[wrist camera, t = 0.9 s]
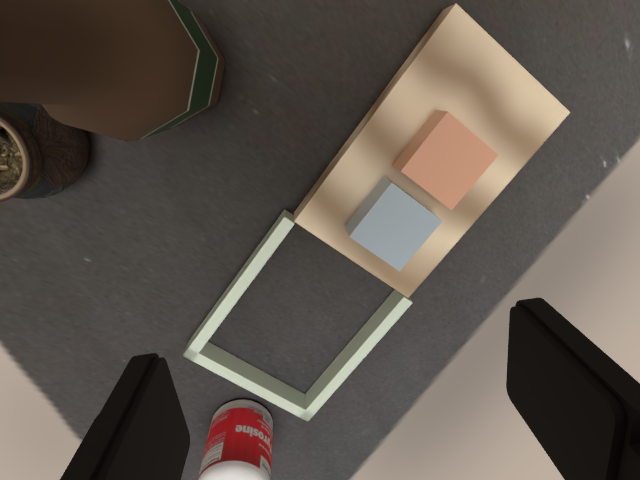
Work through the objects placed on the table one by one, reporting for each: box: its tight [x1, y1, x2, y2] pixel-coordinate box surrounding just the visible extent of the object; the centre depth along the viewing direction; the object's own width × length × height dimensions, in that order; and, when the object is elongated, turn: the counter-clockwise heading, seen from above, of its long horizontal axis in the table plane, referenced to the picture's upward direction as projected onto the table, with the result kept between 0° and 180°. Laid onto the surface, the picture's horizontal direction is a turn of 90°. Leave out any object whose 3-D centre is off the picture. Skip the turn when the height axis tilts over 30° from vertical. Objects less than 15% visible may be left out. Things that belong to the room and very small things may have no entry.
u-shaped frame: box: [183, 209, 412, 421], centre depth 38 cm, size 16×14×2 cm
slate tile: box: [345, 176, 442, 271], centre depth 32 cm, size 5×5×2 cm
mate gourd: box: [0, 102, 89, 202], centre depth 27 cm, size 7×8×10 cm
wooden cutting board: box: [294, 4, 570, 298], centre depth 33 cm, size 19×12×2 cm, turn 143°
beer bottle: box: [0, 0, 226, 141], centre depth 20 cm, size 8×8×24 cm
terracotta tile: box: [393, 110, 498, 210], centre depth 31 cm, size 5×5×2 cm
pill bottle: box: [198, 399, 273, 480], centre depth 37 cm, size 6×6×11 cm
